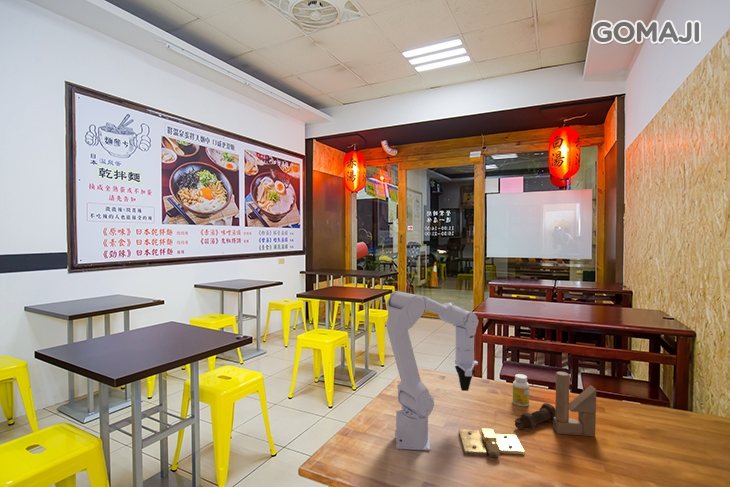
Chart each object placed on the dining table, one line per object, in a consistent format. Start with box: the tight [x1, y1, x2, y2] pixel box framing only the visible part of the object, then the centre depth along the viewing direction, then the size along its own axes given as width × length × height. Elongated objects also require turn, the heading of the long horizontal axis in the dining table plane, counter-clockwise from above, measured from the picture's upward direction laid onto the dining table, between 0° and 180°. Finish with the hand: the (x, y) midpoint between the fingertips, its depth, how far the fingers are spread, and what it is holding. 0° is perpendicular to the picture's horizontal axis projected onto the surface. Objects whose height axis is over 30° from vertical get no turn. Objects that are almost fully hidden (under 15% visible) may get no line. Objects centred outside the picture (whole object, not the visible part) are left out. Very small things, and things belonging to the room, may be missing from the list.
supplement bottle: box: [512, 373, 530, 407], centre depth 129 cm, size 5×5×10 cm
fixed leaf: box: [458, 428, 502, 459], centre depth 104 cm, size 9×12×3 cm
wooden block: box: [552, 371, 597, 437], centre depth 110 cm, size 4×11×18 cm, turn 82°
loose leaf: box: [481, 427, 526, 455], centre depth 104 cm, size 10×8×3 cm
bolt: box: [514, 402, 556, 431], centre depth 115 cm, size 6×5×15 cm
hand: (464, 389), depth 117 cm, fingers closed
